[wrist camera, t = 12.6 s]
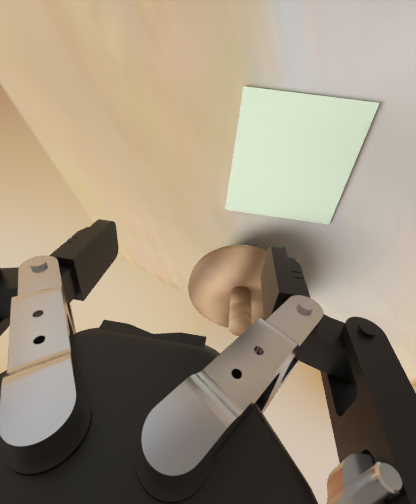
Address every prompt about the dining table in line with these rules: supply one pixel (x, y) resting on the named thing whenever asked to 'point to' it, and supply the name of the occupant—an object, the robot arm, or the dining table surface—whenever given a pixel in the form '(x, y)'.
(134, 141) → the dining table surface
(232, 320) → the lid
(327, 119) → the mat
